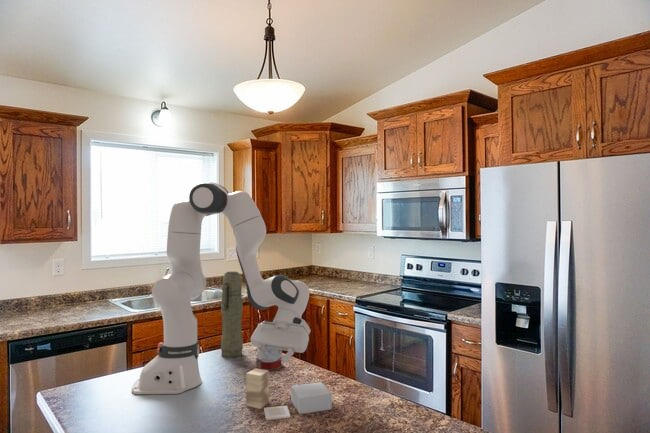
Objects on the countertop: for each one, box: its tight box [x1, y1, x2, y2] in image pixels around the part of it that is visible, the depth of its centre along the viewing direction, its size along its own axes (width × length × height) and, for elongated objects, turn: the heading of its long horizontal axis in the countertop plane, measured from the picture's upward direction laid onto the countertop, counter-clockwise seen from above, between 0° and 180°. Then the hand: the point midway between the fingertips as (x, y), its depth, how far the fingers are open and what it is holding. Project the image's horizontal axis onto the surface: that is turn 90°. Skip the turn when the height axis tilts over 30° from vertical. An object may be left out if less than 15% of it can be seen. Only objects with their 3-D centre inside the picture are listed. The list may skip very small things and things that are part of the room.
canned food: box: [255, 348, 283, 371], centre depth 173 cm, size 11×10×10 cm
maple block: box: [245, 367, 270, 410], centre depth 137 cm, size 5×5×10 cm
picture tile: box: [263, 405, 291, 421], centre depth 130 cm, size 7×7×1 cm
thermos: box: [220, 271, 244, 359], centre depth 187 cm, size 9×12×35 cm
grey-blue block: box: [290, 381, 333, 415], centre depth 136 cm, size 10×10×5 cm
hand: (270, 359), depth 143 cm, fingers open, 8 cm apart
